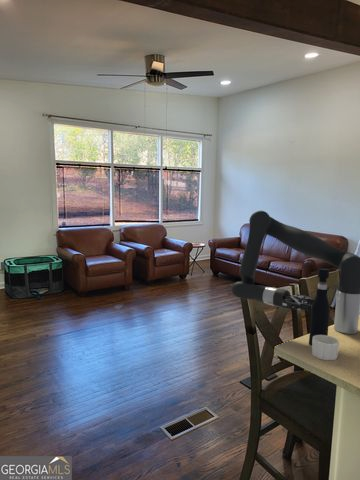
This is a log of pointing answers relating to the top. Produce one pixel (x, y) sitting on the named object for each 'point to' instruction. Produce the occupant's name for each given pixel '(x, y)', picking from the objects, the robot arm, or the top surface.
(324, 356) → the ceramic cup
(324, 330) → the black insulated water bottle
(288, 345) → the top surface
